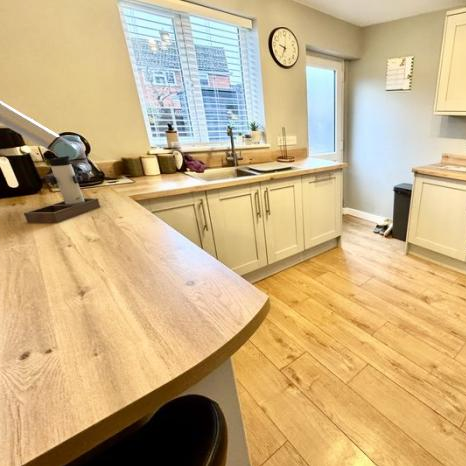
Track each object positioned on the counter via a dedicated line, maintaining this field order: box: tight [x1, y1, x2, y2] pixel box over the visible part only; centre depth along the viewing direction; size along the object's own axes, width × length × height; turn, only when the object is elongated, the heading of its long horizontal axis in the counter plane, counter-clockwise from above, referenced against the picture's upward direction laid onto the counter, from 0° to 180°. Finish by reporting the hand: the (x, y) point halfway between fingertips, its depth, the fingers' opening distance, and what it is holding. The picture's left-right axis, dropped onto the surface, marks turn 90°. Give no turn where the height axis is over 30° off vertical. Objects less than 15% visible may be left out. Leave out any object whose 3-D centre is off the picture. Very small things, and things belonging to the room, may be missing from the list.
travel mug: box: [48, 156, 85, 205], centre depth 120 cm, size 6×7×20 cm
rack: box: [23, 197, 101, 224], centre depth 119 cm, size 11×21×4 cm, turn 2°
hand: (63, 180), depth 116 cm, fingers closed on travel mug, 6 cm apart
